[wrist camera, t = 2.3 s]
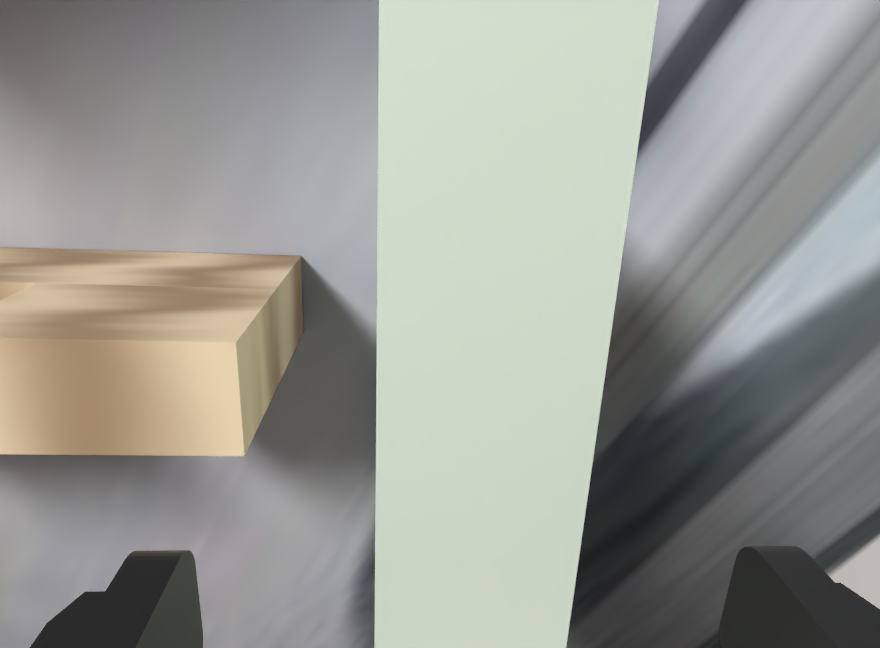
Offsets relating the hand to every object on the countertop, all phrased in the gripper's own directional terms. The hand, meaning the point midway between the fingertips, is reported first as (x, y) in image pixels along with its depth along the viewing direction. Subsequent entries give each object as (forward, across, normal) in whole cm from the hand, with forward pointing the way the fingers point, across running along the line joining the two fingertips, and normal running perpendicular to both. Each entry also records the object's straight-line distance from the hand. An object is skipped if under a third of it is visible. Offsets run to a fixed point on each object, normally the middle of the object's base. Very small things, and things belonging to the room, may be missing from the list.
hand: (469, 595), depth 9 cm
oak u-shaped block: (+15, +14, 0) cm, 21 cm away
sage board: (+15, 0, 0) cm, 15 cm away
